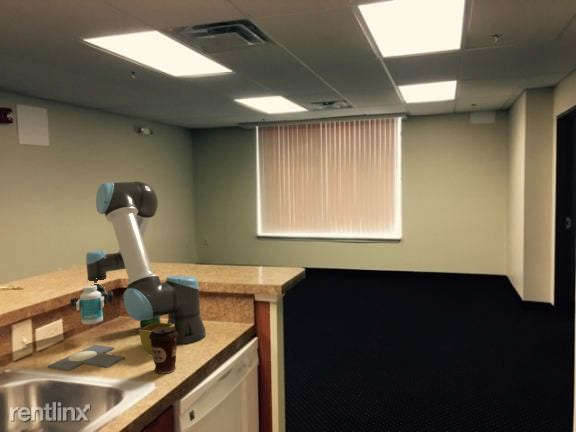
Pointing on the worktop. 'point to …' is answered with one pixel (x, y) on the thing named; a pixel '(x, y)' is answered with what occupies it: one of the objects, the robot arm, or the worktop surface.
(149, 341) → the flower pot
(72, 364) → the t mat
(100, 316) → the pill bottle
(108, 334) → the worktop surface
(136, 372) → the worktop surface
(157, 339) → the coffee cup
